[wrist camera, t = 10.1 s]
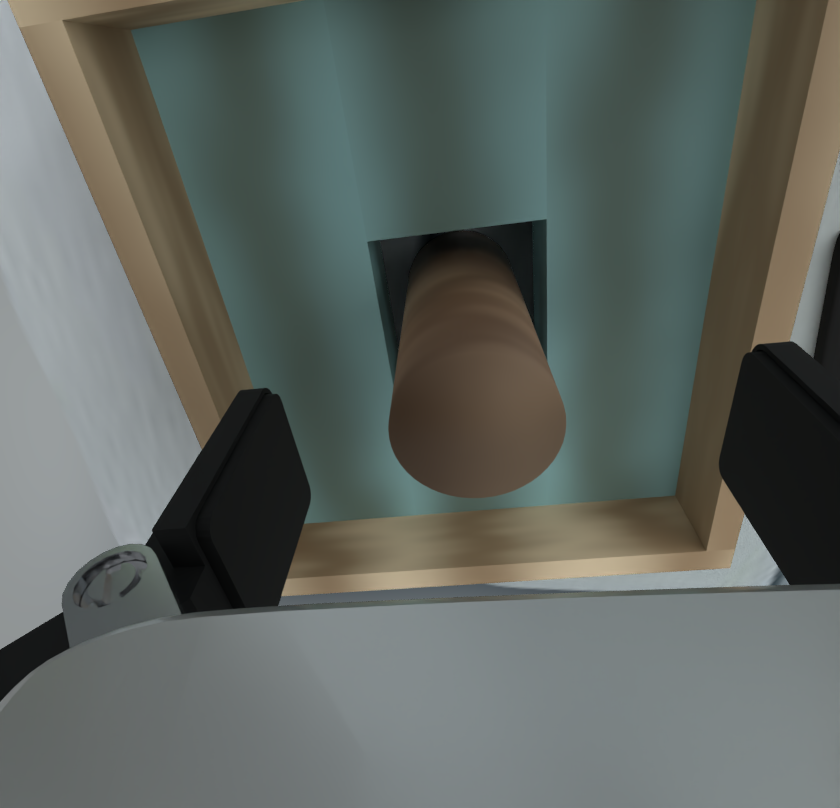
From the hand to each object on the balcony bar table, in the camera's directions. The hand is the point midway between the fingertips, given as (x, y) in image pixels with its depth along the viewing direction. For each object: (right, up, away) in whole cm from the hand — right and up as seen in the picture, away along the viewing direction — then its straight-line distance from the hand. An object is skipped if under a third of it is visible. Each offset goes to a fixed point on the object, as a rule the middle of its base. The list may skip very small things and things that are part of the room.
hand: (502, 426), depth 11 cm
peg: (0, +5, +9) cm, 11 cm away
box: (0, +5, +9) cm, 11 cm away
